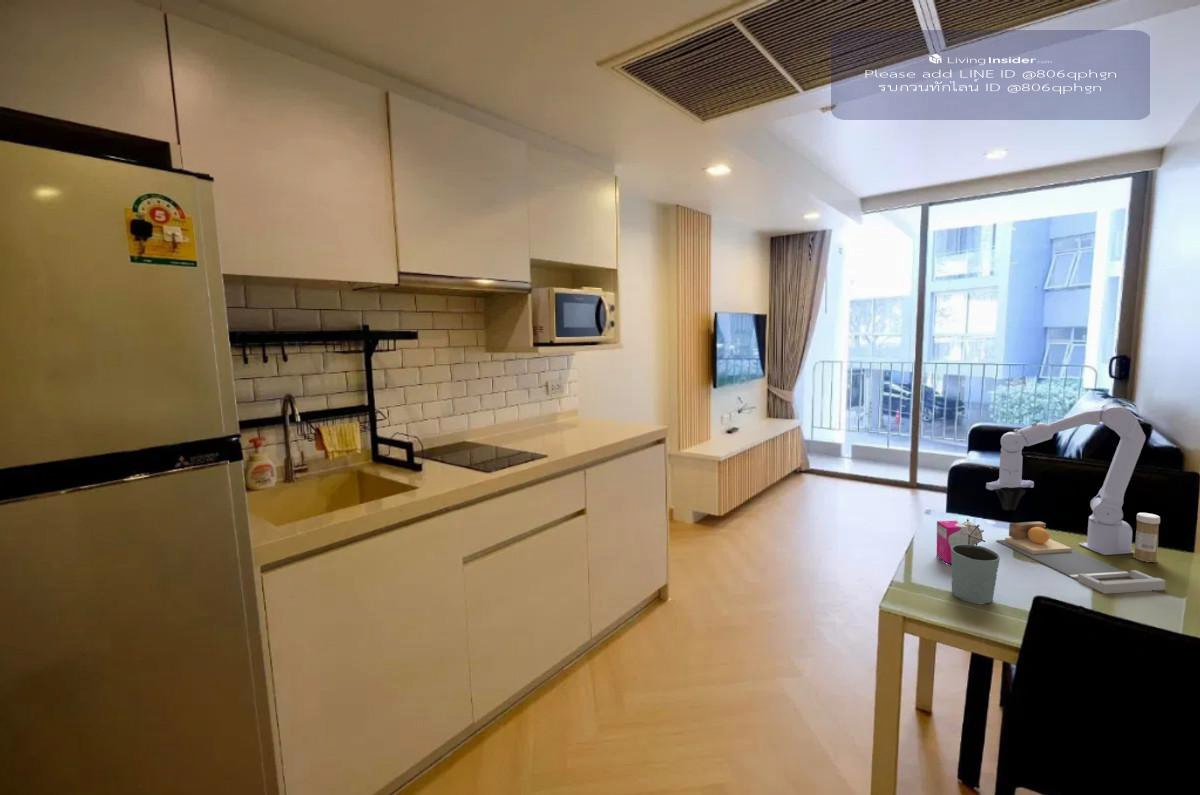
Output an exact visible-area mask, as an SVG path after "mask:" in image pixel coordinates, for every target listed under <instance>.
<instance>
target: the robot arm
mask: <svg viewBox="0 0 1200 795" xmlns="http://www.w3.org/2000/svg"><path fill="white" fill-rule="evenodd" d="M1101 423H1103V424H1104V426H1106V427H1108V428H1109V429H1110V430H1112V431H1114V432H1115V434H1117V435H1118V436H1119V437H1120V440H1119V443H1118V445H1117V446H1116V450H1115V453H1114V454H1113V457H1112V461H1111V463H1110V466H1109V469H1108V471H1107V473H1106V476H1105V479H1104V481H1103V485H1102V487H1100V489H1099V491H1098V493H1097V494H1096V496H1094V497H1092V499H1091V500H1090V502H1089V505H1090V506H1089V507H1090V508H1091V511H1092V514H1091V515H1089V516H1088V523H1087V525H1088V526H1087V538H1086V539H1087V541H1086V542H1078V545H1079V546H1081V547H1083V548H1086V549H1089V550H1091V551H1093V552H1096V553H1098V554H1101V555H1103V556H1108V555H1110V556H1111V555H1124V554H1125V555H1126V554H1135V550H1132V543H1133V528H1132V526H1131V525H1130V524H1129V523H1128V522H1127V521H1125V520H1123V518H1124V512H1123V509H1122V508H1123V505H1124V497H1125V494H1126V490H1127V488H1128V486H1129V482H1130V481H1131V478H1132V475H1133V473H1134V469H1135V468H1136V464H1137V461H1138V460H1139V457H1140V454H1141V451H1142V449H1143V446H1144V444H1145V442H1146V434H1145V433H1144V431H1143V428H1142V426H1141V424H1140V423H1139V420H1138V418H1137V417H1136V416H1135V415H1134V414H1133V413H1132V412H1131V411H1130V410H1128V409H1127V408H1126V407H1125V406H1123V405H1122V404H1119V403H1115V402H1113V403H1112V402H1111V403H1106V404H1104V405H1102V406H1100V405H1099V406H1093V407H1092V408H1088V409H1085V410H1082V411H1079V412H1077V413H1074V414H1071V415H1069V416H1066V417H1063V418H1061V419H1058V420H1055V421H1053V422H1050V423H1046V422H1042V421H1041V422H1037V421H1034V422H1031V424H1030V425H1029V426H1025V427H1022V428H1019V429H1018V428H1014V429H1013V431H1008V432H1006V433H1003V435H1002V436H1001V438H1000V441H999V442H1000V445H1001V448H1000V454H999V472H998V473H999V474H998V476H999V478H998V479H997V480H995V481H991V482H986V483H985V484H986V485H985V489H987V490H989V491H994V492H996V494H997V496H998V498H999V502H1000V505H1001V508H1002V510H1003V511H1004V510H1005V511H1006V512H1008V511H1010V510H1012V511H1016V509H1017V507H1018V505H1019V503H1020V500H1021V499H1022V498H1023V496H1024V495H1025V494H1026V489H1025V488H1031V489H1032V488H1034V487H1035V482H1034V481H1033V480H1030V479H1029V480H1028V479H1027V480H1026V479H1025V480H1024V479H1023V478H1022V477H1023V476H1022V475H1023V457H1024V456H1023V455H1022V453H1023V452H1022V450H1023V449H1024V447H1031V446H1034V445H1036V444H1039V443H1042V442H1045V441H1049V440H1052V439H1053V436H1054V434H1057V433H1059V432H1064V431H1067V430H1070V429H1073V428H1078V427H1081V426H1084V425H1091V426H1097V427H1098V426H1101V425H1102V424H1101ZM1023 488H1024V489H1023Z"/></svg>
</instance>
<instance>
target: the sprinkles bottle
mask: <svg viewBox="0 0 1200 795" xmlns="http://www.w3.org/2000/svg"><path fill="white" fill-rule="evenodd" d="M1160 524H1161V516H1159V515H1157V514H1154V513H1148V512H1138V513H1137V514H1136V532H1135V543H1134V547H1135V548H1134V555H1133V558H1134V559H1135V558H1136V560H1137V559H1138V561H1140V560H1141V561H1140V562H1143V561H1147V562H1146V563H1149V562H1154V563H1157V562H1156V561H1158V560H1157V555H1158V548H1159V547H1158V546H1159V527H1160Z"/></svg>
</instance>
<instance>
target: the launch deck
mask: <svg viewBox="0 0 1200 795" xmlns="http://www.w3.org/2000/svg"><path fill="white" fill-rule="evenodd" d="M996 542H997V543H999V544H1001V545H1003V546H1005V547H1007V548H1009V549H1012V550H1013V549H1014V550H1013V551H1015V550H1016V551H1015V552H1017V551H1018V552H1017V553H1019V554H1021V553H1022V555H1023V556H1025V555H1026V557H1028V558H1030V559H1032V560H1034V561H1035V562H1037V563H1039V564H1042V565H1045V566H1046V567H1048V568H1050V569H1052V570H1054V571H1057V572H1059V573H1061V574H1063V575H1065V576H1066V577H1068V578H1071V579H1073V580H1075V581H1077V582H1079V583H1081V584H1082V585H1086V586H1088V587H1089V588H1091V589H1093V590H1096V591H1097V592H1100V593H1102V594H1104V595H1105V594H1106V595H1107V594H1110V595H1111V594H1123V593H1124V594H1125V593H1135V592H1136V593H1137V592H1138V593H1139V592H1150V591H1151V592H1153V591H1152V590H1154V591H1165V590H1166V580H1165V579H1163V578H1161V577H1153V576H1151V575H1148V574H1146V573H1143V572H1141V571H1139V570H1136V569H1134V570H1132V569H1131V570H1130V571H1129V572H1128V571H1125V570H1122V569H1121V568H1117V567H1116V566H1113V565H1111V564H1108V563H1106V562H1104V561H1101V560H1100V559H1097V558H1095V557H1092V556H1090V555H1088V554H1085V553H1083V552H1080V551H1078V550H1076V549H1075V548H1074V549H1073V548H1072V547H1069V546H1068V545H1065V544H1063V543H1061V542H1058V541H1056V540H1053V539H1052V538H1049V540H1048V541H1047V542H1046V543H1043V544H1038V543H1035V542H1033V541H1031V540H1030V538H1012V537H1010V536H1008V537H1004V539H996ZM1127 578H1130V579H1127ZM1111 579H1118V580H1111ZM1122 579H1123V580H1122ZM1102 580H1105V581H1102ZM1107 580H1109V581H1107Z"/></svg>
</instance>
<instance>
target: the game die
mask: <svg viewBox="0 0 1200 795" xmlns="http://www.w3.org/2000/svg"><path fill="white" fill-rule="evenodd" d="M961 524H963V525H965V526H967V527H968V542H967V544H970V545H976V546H977V545H978V546H979V543H981V542H984V543H986V540H984V539H983V533H984V531H985V530H984V529H982V530H981V529H980V524H977V525H976V524H975V523H972V522H970V519H969V518H967V519H966V521H964V522H961Z"/></svg>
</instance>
